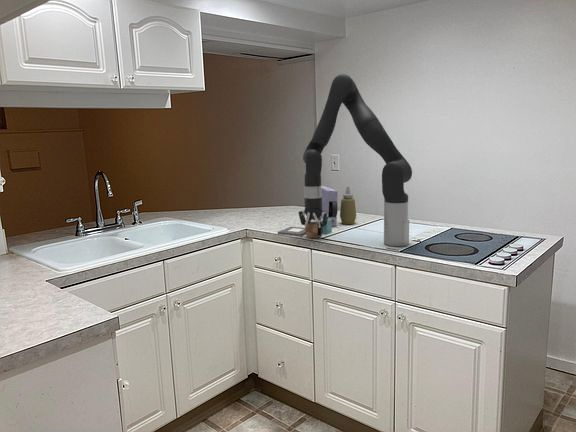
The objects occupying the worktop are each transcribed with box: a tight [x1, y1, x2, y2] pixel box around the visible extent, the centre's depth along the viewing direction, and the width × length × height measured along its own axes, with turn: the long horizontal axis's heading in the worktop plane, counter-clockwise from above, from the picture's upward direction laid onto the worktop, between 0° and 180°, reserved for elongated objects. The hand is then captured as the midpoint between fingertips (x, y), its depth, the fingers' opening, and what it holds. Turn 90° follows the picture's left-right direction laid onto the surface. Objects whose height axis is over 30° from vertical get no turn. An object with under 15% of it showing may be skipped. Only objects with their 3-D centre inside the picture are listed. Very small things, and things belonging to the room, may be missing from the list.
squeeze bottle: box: [339, 186, 357, 225], centre depth 226 cm, size 8×8×18 cm
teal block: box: [321, 218, 333, 235], centre depth 210 cm, size 5×5×6 cm
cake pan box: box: [321, 185, 339, 227], centre depth 228 cm, size 19×5×18 cm, turn 18°
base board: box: [277, 226, 306, 238], centre depth 212 cm, size 12×12×1 cm
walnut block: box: [305, 221, 323, 239], centre depth 201 cm, size 5×5×6 cm
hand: (314, 235), depth 201 cm, fingers closed on walnut block, 5 cm apart
